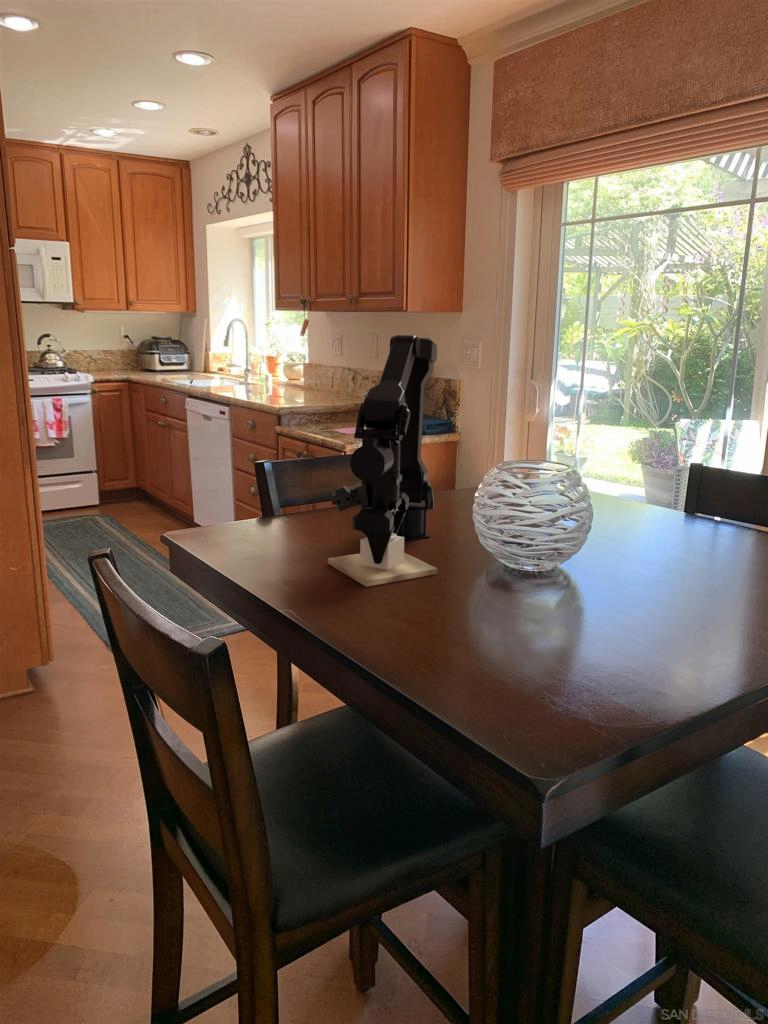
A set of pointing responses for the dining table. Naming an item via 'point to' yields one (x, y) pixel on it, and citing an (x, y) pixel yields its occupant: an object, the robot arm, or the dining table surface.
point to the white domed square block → (391, 556)
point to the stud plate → (381, 570)
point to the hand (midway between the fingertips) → (381, 557)
